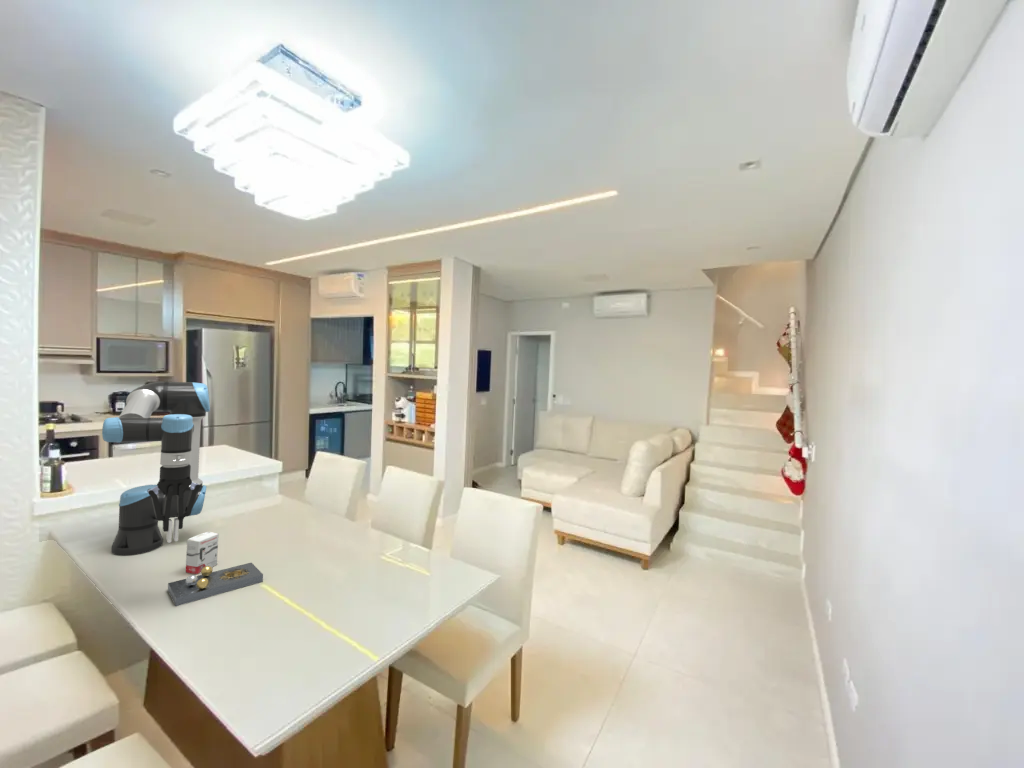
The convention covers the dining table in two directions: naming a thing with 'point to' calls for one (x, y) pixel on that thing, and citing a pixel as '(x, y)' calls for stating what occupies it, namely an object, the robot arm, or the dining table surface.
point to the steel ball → (191, 580)
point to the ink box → (201, 552)
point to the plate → (215, 583)
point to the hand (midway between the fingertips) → (172, 540)
